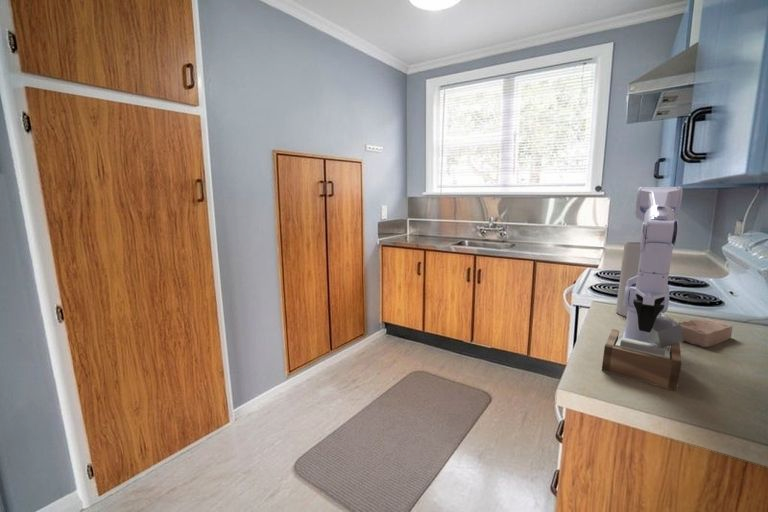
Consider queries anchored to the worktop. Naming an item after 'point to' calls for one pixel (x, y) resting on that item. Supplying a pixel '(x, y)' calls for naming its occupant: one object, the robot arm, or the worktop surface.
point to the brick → (705, 332)
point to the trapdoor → (643, 347)
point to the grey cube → (665, 332)
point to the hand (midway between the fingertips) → (645, 327)
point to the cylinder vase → (628, 272)
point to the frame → (642, 364)
